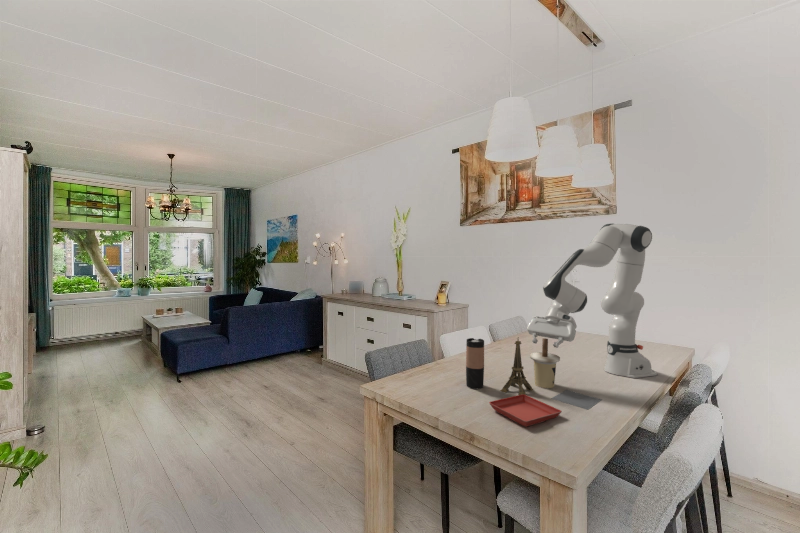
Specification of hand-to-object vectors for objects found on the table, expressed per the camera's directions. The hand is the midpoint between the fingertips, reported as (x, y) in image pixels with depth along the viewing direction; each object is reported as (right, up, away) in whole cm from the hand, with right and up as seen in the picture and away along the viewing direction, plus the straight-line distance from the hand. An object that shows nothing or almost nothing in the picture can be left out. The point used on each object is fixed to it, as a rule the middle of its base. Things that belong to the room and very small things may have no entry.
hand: (544, 344), depth 163 cm
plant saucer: (-18, -20, -27) cm, 38 cm away
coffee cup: (0, -18, +1) cm, 18 cm away
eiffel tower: (-13, -19, -4) cm, 23 cm away
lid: (0, -6, +1) cm, 6 cm away
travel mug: (-30, -18, +1) cm, 35 cm away
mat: (+7, -19, -14) cm, 25 cm away
